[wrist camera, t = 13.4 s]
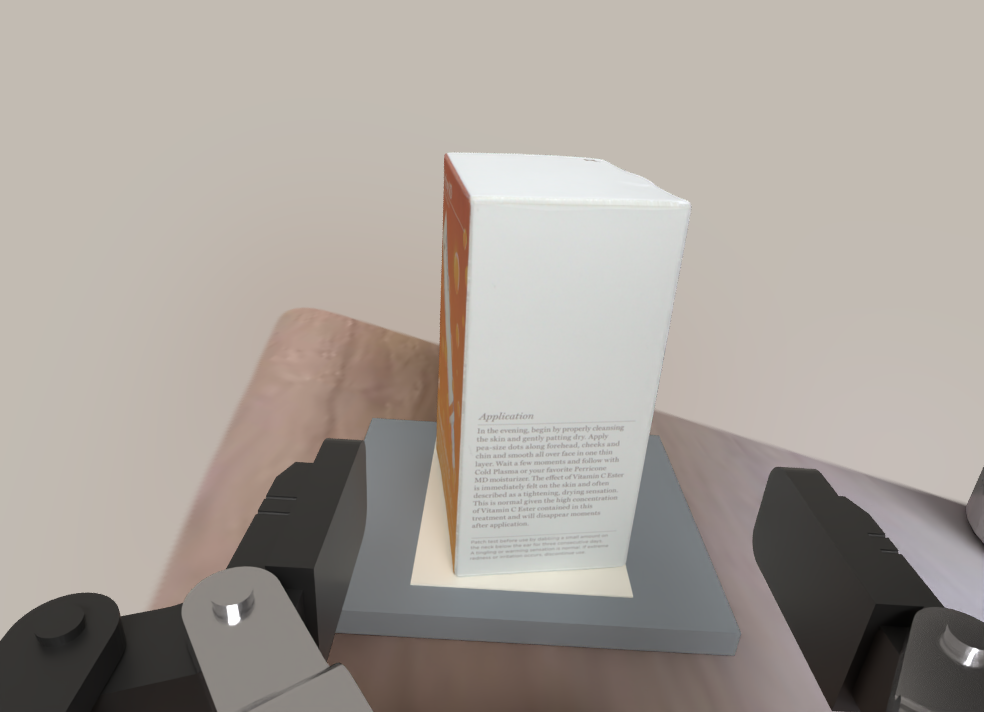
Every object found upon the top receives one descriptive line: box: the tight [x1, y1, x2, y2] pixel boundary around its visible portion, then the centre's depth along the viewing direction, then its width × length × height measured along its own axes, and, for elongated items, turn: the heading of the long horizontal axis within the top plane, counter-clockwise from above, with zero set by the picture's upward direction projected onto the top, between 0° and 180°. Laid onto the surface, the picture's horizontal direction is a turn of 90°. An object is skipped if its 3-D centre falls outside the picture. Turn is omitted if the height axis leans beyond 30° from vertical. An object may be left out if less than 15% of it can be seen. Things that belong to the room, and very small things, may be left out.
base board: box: [335, 418, 741, 656], centre depth 26 cm, size 14×12×1 cm
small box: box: [436, 153, 692, 578], centre depth 23 cm, size 8×6×13 cm
